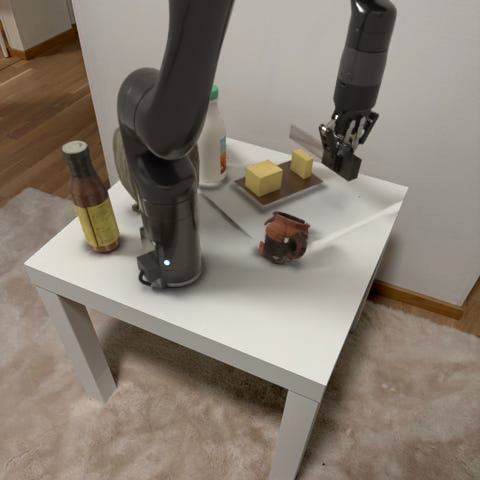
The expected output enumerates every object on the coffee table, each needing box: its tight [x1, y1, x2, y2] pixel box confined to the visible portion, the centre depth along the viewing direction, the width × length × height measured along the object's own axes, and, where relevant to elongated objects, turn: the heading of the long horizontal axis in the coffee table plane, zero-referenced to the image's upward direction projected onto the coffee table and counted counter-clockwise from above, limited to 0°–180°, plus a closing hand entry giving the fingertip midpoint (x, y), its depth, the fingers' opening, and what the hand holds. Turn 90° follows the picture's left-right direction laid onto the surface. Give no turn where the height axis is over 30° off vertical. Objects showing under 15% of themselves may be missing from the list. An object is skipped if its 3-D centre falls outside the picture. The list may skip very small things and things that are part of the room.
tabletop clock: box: [112, 126, 200, 212], centre depth 83 cm, size 14×9×25 cm, turn 123°
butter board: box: [233, 159, 325, 207], centre depth 99 cm, size 17×11×2 cm, turn 125°
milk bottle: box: [197, 83, 227, 184], centre depth 93 cm, size 8×8×20 cm
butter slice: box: [290, 148, 315, 179], centre depth 99 cm, size 2×5×4 cm, turn 35°
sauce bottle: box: [61, 140, 121, 253], centre depth 78 cm, size 7×6×20 cm
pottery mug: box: [258, 211, 311, 264], centre depth 83 cm, size 12×10×8 cm
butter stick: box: [245, 159, 283, 197], centre depth 95 cm, size 6×5×4 cm
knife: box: [288, 123, 363, 182], centre depth 90 cm, size 2×20×4 cm, turn 35°
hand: (339, 167), depth 88 cm, fingers closed on knife, 2 cm apart
